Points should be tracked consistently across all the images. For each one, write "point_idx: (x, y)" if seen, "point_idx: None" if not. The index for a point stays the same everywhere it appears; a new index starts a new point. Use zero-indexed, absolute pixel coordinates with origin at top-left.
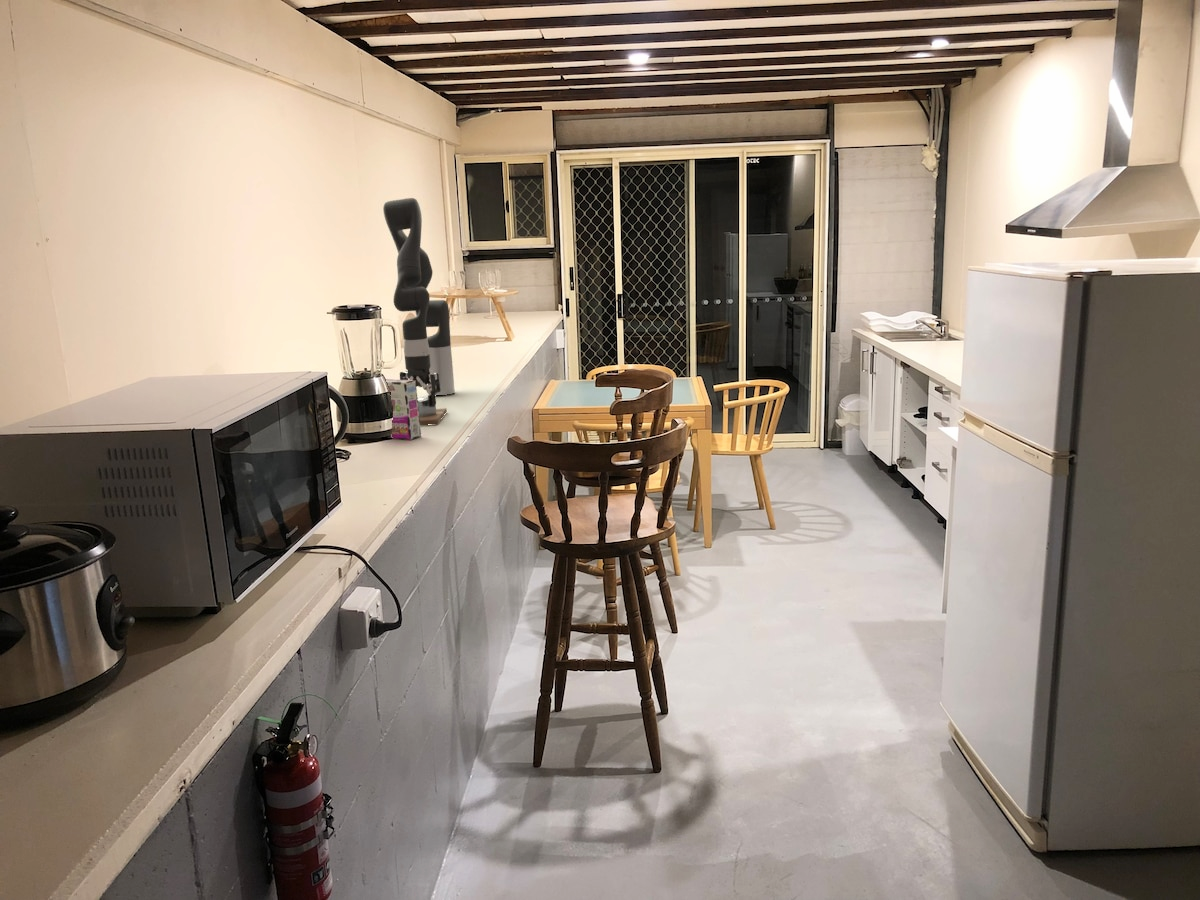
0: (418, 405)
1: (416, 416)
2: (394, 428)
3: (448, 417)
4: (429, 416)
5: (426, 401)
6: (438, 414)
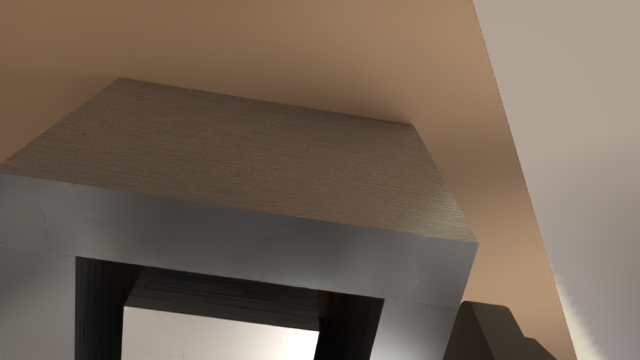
0: (141, 148)
1: None
2: None
3: None
4: None
5: (12, 299)
6: None
